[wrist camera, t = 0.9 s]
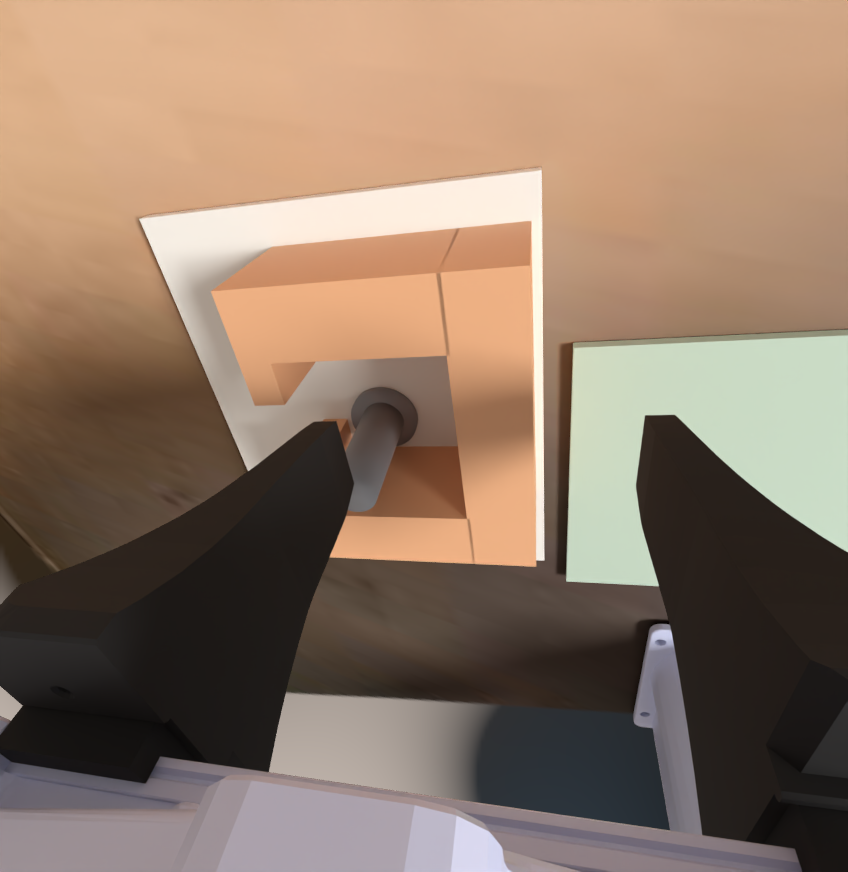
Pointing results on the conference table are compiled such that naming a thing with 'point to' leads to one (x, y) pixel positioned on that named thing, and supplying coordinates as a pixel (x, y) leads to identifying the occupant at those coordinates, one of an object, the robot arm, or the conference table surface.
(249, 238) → the stand
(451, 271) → the c link
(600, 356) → the mat
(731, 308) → the conference table surface
